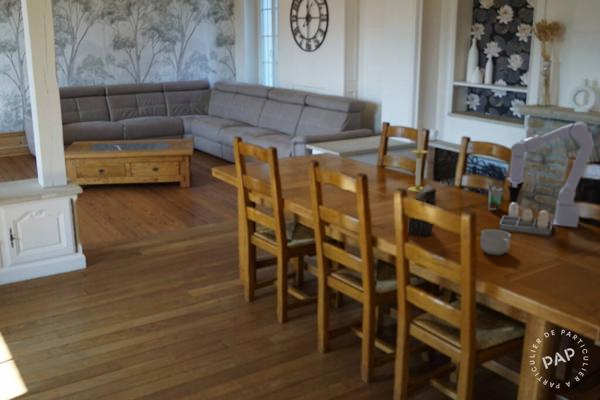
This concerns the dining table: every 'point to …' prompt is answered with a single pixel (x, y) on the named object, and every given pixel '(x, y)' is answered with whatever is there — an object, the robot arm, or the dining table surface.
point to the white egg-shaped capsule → (513, 209)
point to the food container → (494, 197)
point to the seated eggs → (542, 218)
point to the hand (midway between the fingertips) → (514, 199)
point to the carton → (523, 226)
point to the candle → (418, 159)
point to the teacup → (495, 241)
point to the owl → (420, 226)
